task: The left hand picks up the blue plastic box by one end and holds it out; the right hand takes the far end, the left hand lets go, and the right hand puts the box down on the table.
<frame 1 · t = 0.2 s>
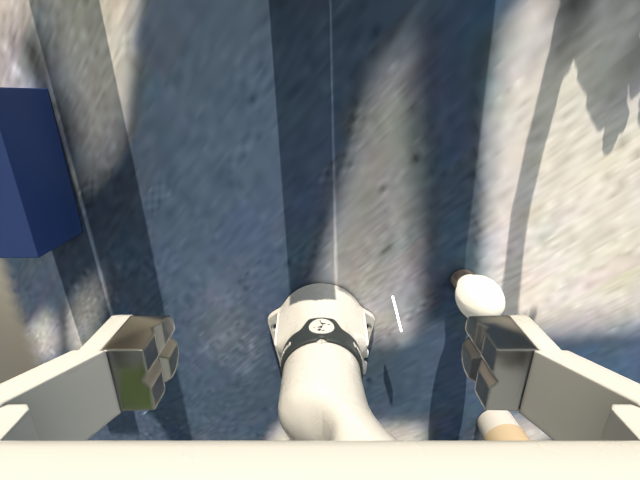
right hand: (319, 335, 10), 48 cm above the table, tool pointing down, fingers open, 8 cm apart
light bulb: (463, 277, 63), on the table
coffee cup: (494, 420, 74), on the table
box: (46, 165, 56), on the table
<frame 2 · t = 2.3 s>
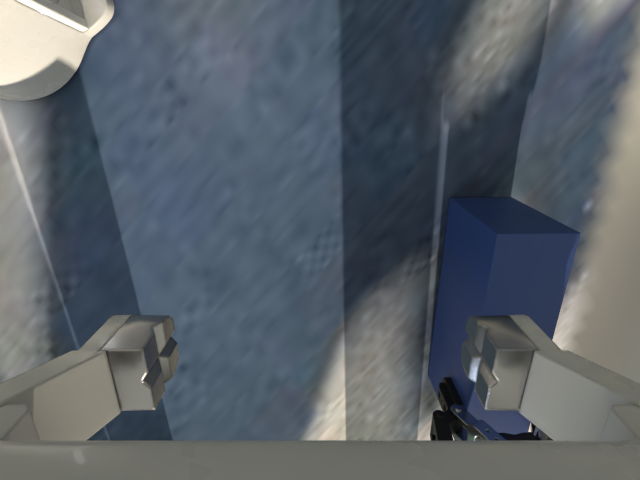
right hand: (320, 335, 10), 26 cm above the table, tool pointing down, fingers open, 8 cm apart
box: (465, 294, 40), on the table, touching left hand
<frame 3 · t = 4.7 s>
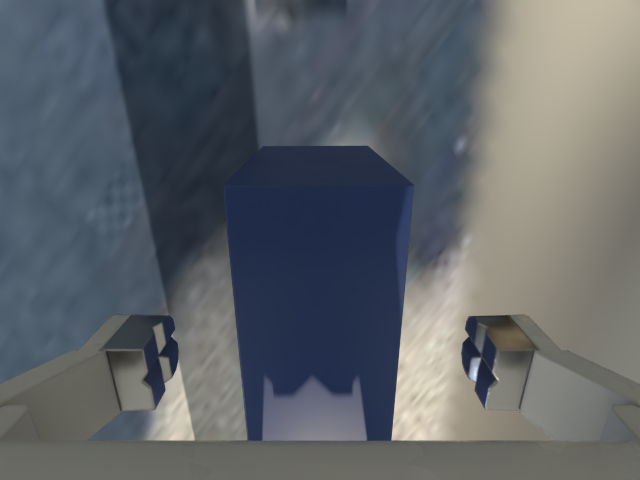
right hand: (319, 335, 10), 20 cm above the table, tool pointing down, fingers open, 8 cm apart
box: (316, 309, 25), point 7 cm above the table, touching left hand
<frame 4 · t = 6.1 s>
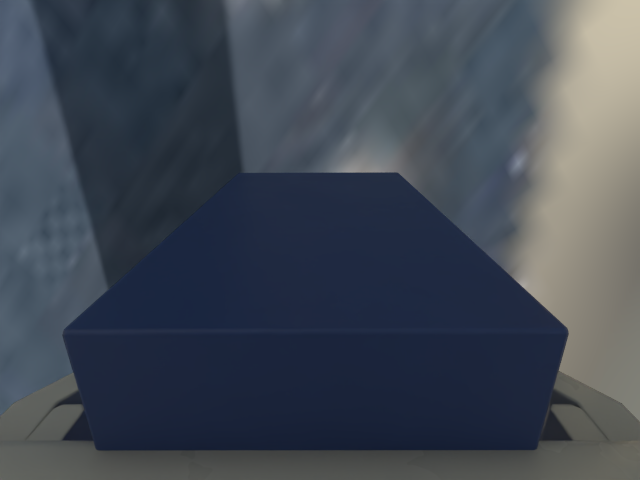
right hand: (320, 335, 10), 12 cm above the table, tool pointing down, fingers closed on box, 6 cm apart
box: (319, 397, 18), point 7 cm above the table, touching right hand, left hand
when the left hand's fingers open (13 cm above the table, at t = 7.2 s): box moves 1 cm, held by the right hand.
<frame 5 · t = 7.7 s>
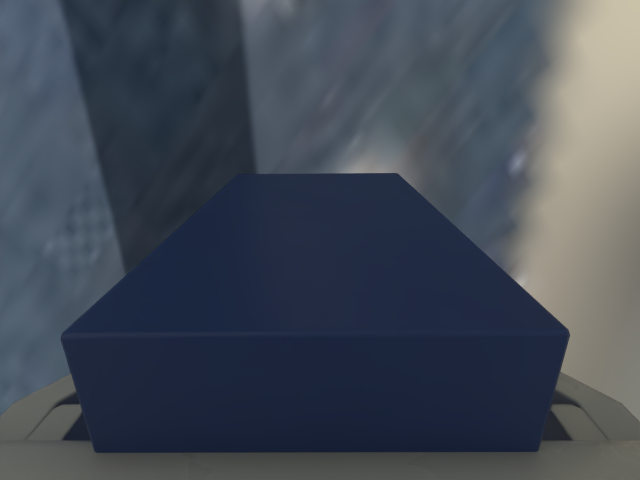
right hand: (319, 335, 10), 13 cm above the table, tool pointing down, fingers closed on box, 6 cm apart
box: (319, 399, 18), point 8 cm above the table, touching right hand
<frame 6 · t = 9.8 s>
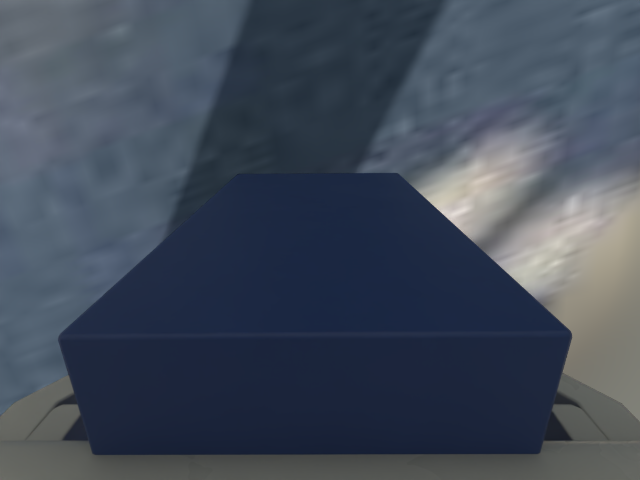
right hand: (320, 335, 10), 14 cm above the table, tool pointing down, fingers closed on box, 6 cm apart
box: (319, 399, 18), point 9 cm above the table, touching right hand
when the right hand's fingers open (6 cm above the table, at t = 11.2 s): box stays where it is, on the table.
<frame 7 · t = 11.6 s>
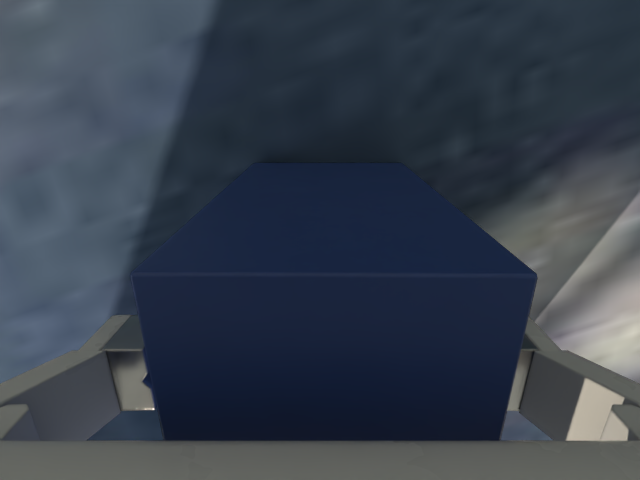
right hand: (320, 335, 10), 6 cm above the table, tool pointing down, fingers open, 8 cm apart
box: (326, 376, 19), on the table
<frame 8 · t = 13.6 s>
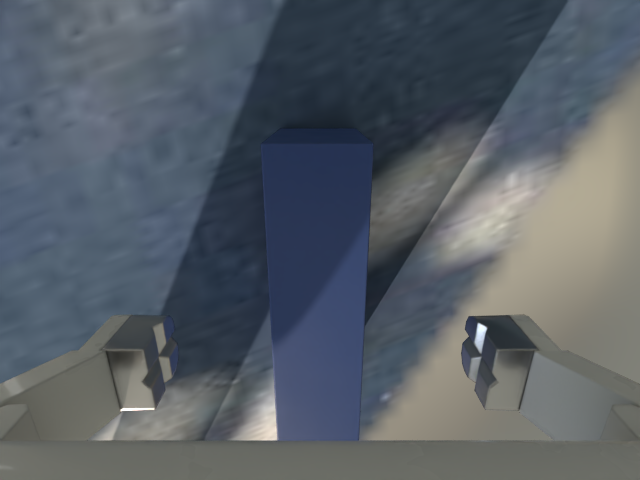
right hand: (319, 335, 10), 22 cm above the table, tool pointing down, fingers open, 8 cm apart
box: (318, 253, 33), on the table
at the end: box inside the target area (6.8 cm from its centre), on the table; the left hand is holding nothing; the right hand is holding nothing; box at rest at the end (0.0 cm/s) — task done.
